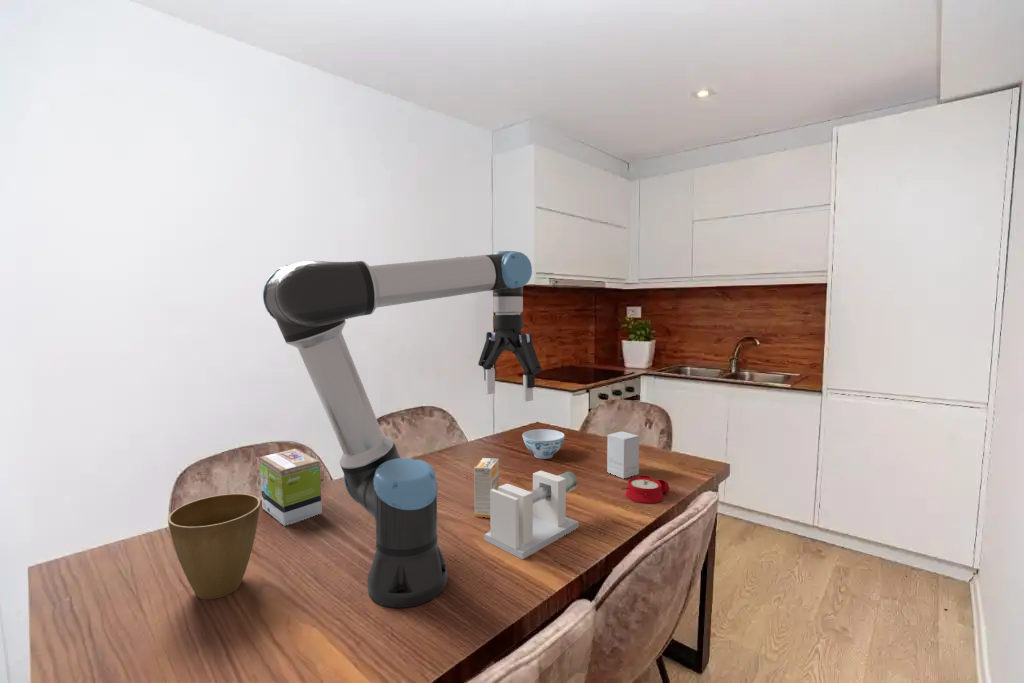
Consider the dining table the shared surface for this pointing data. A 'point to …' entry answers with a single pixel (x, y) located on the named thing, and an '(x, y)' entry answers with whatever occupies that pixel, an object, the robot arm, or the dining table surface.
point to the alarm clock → (646, 489)
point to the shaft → (545, 490)
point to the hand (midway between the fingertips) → (508, 397)
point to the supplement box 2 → (623, 454)
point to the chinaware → (543, 442)
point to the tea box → (290, 486)
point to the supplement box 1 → (485, 485)
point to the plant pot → (215, 541)
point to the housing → (528, 516)
